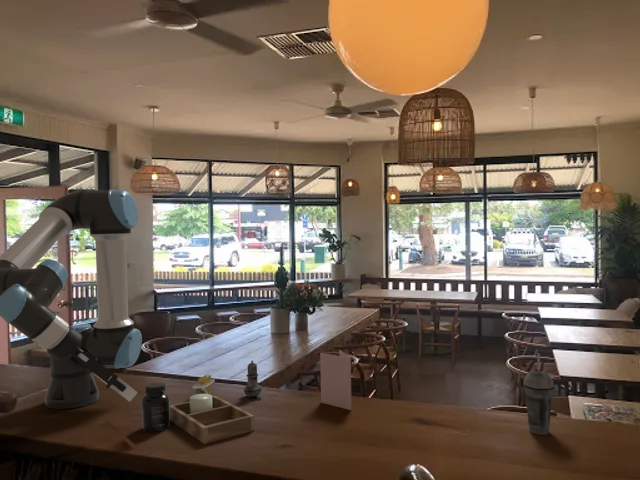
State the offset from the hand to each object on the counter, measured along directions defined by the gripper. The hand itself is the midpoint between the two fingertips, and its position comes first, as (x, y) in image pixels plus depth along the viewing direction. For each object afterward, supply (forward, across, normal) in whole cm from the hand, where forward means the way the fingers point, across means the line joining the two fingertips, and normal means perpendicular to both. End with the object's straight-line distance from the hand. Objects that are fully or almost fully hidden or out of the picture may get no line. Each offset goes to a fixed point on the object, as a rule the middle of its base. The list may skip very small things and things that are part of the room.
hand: (124, 390), depth 137 cm
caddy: (+23, +6, +6) cm, 24 cm away
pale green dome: (+22, 0, +6) cm, 23 cm away
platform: (+31, -20, +13) cm, 39 cm away
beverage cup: (+68, +62, +51) cm, 105 cm away
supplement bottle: (+15, -1, -3) cm, 15 cm away
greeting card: (+49, +13, +32) cm, 60 cm away
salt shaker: (+38, -8, +20) cm, 44 cm away
